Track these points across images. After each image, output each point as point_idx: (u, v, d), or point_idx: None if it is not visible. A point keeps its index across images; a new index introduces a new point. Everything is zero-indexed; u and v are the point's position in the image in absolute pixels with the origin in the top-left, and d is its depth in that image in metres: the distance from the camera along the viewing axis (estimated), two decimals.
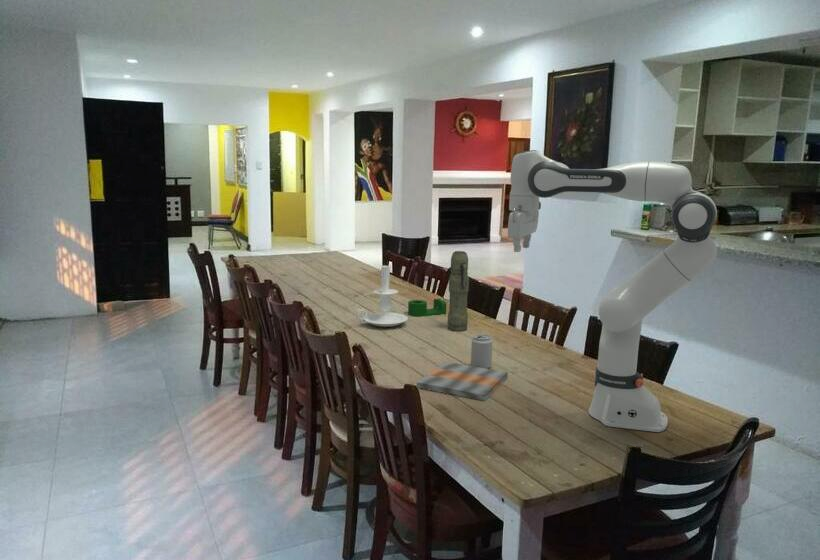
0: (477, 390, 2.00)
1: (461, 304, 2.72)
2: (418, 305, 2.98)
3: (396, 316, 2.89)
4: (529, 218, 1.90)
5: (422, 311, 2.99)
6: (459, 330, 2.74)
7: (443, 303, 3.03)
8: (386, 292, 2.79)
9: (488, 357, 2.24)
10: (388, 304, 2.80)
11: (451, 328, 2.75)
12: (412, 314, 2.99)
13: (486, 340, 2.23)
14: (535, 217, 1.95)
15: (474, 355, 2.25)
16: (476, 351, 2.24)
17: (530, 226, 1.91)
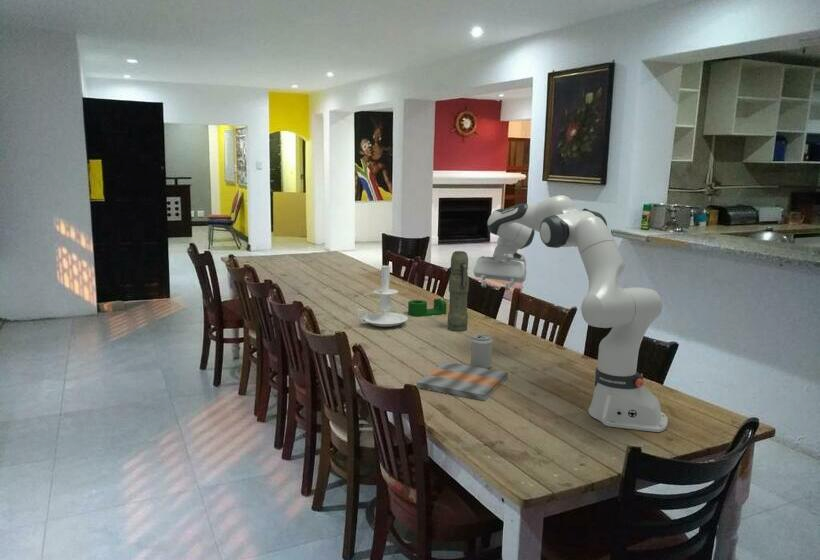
0: (477, 390, 2.00)
1: (461, 304, 2.72)
2: (418, 305, 2.97)
3: (396, 316, 2.89)
4: (504, 265, 2.38)
5: (422, 311, 2.99)
6: (459, 330, 2.74)
7: (443, 303, 3.03)
8: (386, 292, 2.79)
9: (488, 357, 2.24)
10: (388, 304, 2.80)
11: (451, 328, 2.75)
12: (412, 314, 2.99)
13: (486, 340, 2.23)
14: (519, 266, 2.36)
15: (474, 355, 2.25)
16: (476, 351, 2.24)
17: (504, 270, 2.37)
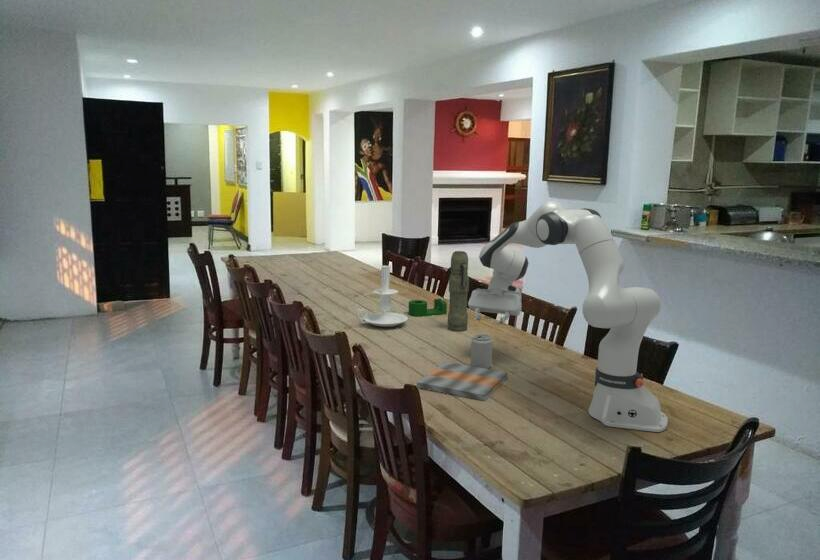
0: (477, 390, 2.00)
1: (461, 304, 2.72)
2: (418, 305, 2.98)
3: (396, 316, 2.89)
4: (499, 298, 2.34)
5: (422, 311, 2.99)
6: (459, 330, 2.74)
7: (443, 303, 3.03)
8: (386, 292, 2.79)
9: (488, 357, 2.24)
10: (388, 304, 2.80)
11: (451, 328, 2.75)
12: (412, 314, 2.99)
13: (486, 340, 2.23)
14: (514, 299, 2.32)
15: (474, 355, 2.25)
16: (476, 351, 2.24)
17: (499, 303, 2.33)
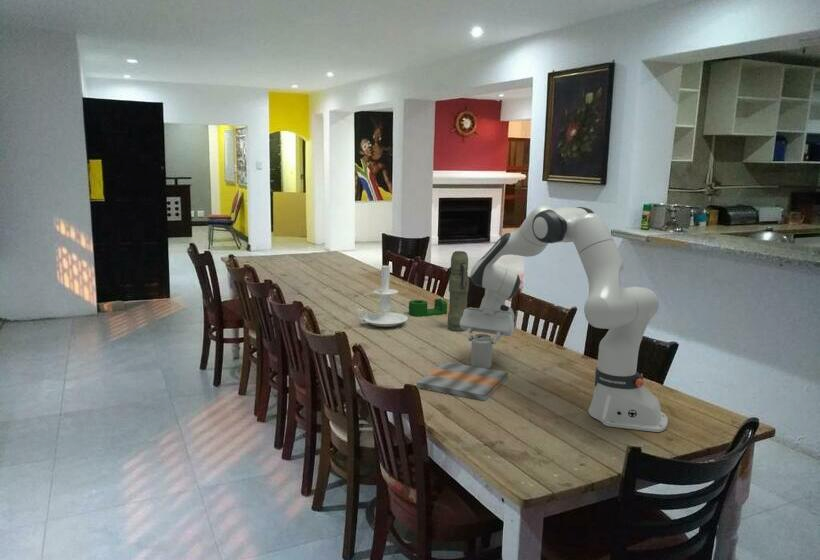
0: (477, 390, 2.00)
1: (461, 304, 2.72)
2: (419, 305, 2.98)
3: (396, 316, 2.89)
4: (491, 317, 2.29)
5: (422, 311, 2.99)
6: (459, 330, 2.74)
7: (444, 303, 3.03)
8: (386, 292, 2.79)
9: (488, 357, 2.24)
10: (388, 304, 2.80)
11: (451, 328, 2.75)
12: (413, 314, 2.99)
13: (486, 340, 2.23)
14: (506, 319, 2.26)
15: (474, 355, 2.25)
16: (476, 351, 2.24)
17: (491, 323, 2.27)
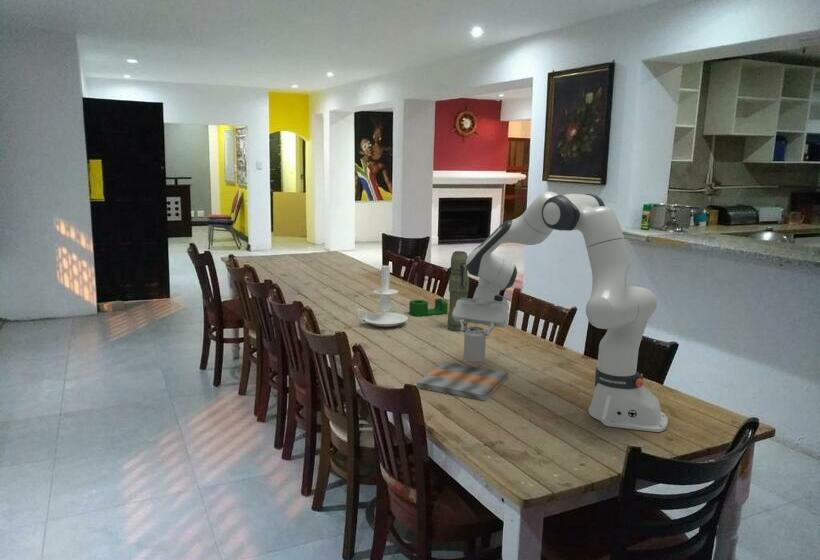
0: (477, 390, 2.00)
1: None
2: (419, 305, 2.98)
3: (396, 316, 2.89)
4: (485, 308, 2.20)
5: (423, 311, 2.99)
6: (459, 330, 2.74)
7: (444, 303, 3.03)
8: (386, 292, 2.79)
9: (481, 350, 2.16)
10: (388, 304, 2.80)
11: (451, 328, 2.75)
12: (413, 314, 2.99)
13: (479, 333, 2.15)
14: (500, 310, 2.18)
15: (467, 348, 2.17)
16: (469, 344, 2.16)
17: (484, 314, 2.19)
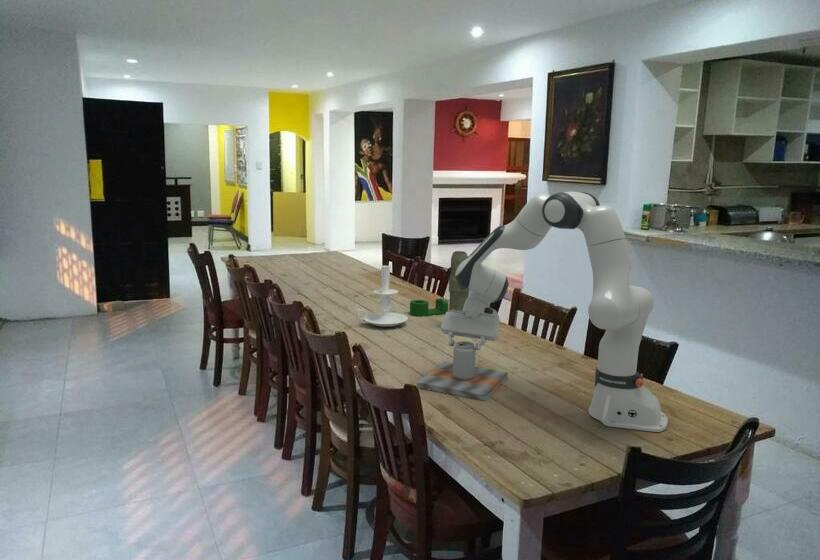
0: (477, 390, 2.00)
1: (461, 304, 2.72)
2: (420, 305, 2.98)
3: (396, 316, 2.89)
4: (474, 321, 2.12)
5: (423, 311, 2.99)
6: None
7: (445, 303, 3.03)
8: (386, 292, 2.80)
9: (471, 366, 2.08)
10: (388, 304, 2.80)
11: None
12: (414, 314, 2.99)
13: (469, 348, 2.07)
14: (491, 323, 2.09)
15: (456, 364, 2.08)
16: (458, 360, 2.08)
17: (474, 327, 2.10)
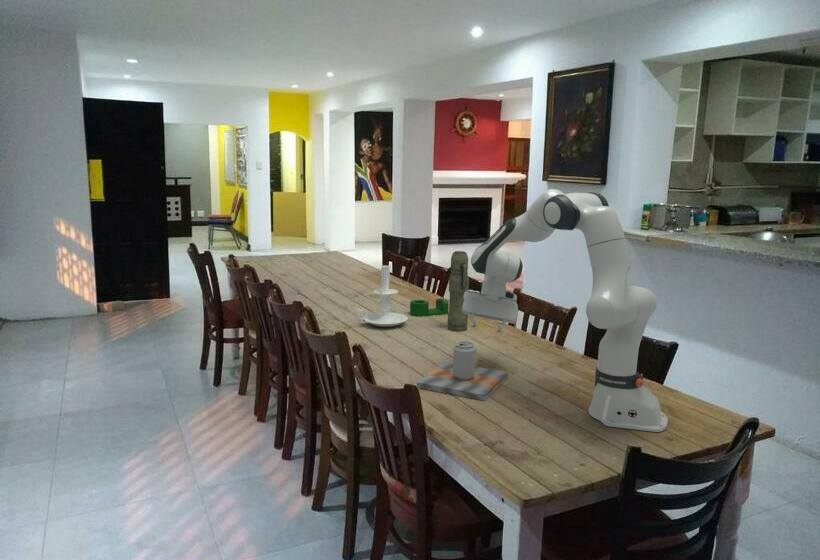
0: (477, 390, 2.00)
1: (461, 304, 2.72)
2: (420, 305, 2.98)
3: (396, 316, 2.89)
4: (495, 304, 2.24)
5: (424, 311, 2.99)
6: (459, 330, 2.74)
7: (445, 303, 3.03)
8: (386, 292, 2.80)
9: (471, 366, 2.08)
10: (388, 304, 2.80)
11: (451, 328, 2.75)
12: (414, 314, 2.99)
13: (469, 348, 2.07)
14: (511, 307, 2.23)
15: (456, 364, 2.08)
16: (458, 360, 2.08)
17: (496, 310, 2.23)
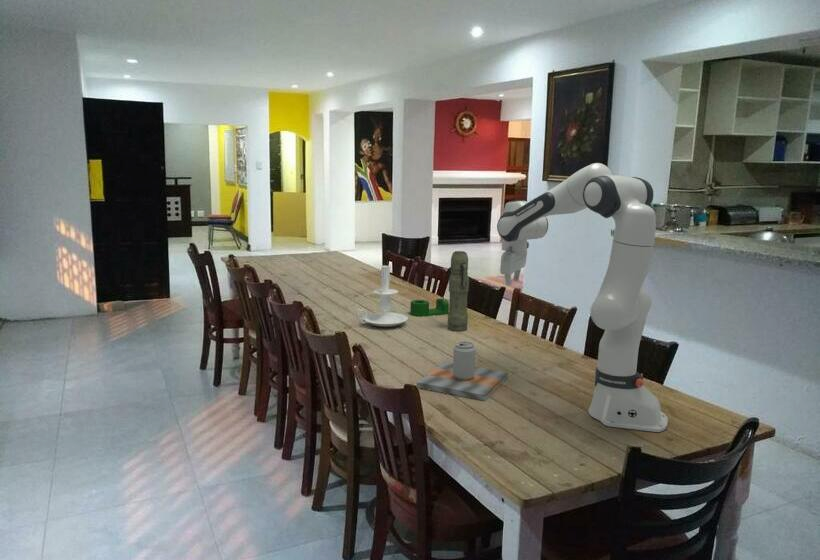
0: (477, 390, 2.00)
1: (461, 304, 2.72)
2: (420, 305, 2.98)
3: (396, 316, 2.89)
4: (518, 256, 2.24)
5: (424, 311, 2.99)
6: (459, 330, 2.74)
7: (445, 303, 3.03)
8: (386, 292, 2.79)
9: (471, 366, 2.08)
10: (388, 304, 2.80)
11: (451, 328, 2.75)
12: (414, 314, 2.99)
13: (469, 348, 2.07)
14: (524, 254, 2.30)
15: (456, 364, 2.08)
16: (458, 360, 2.08)
17: (519, 263, 2.25)
